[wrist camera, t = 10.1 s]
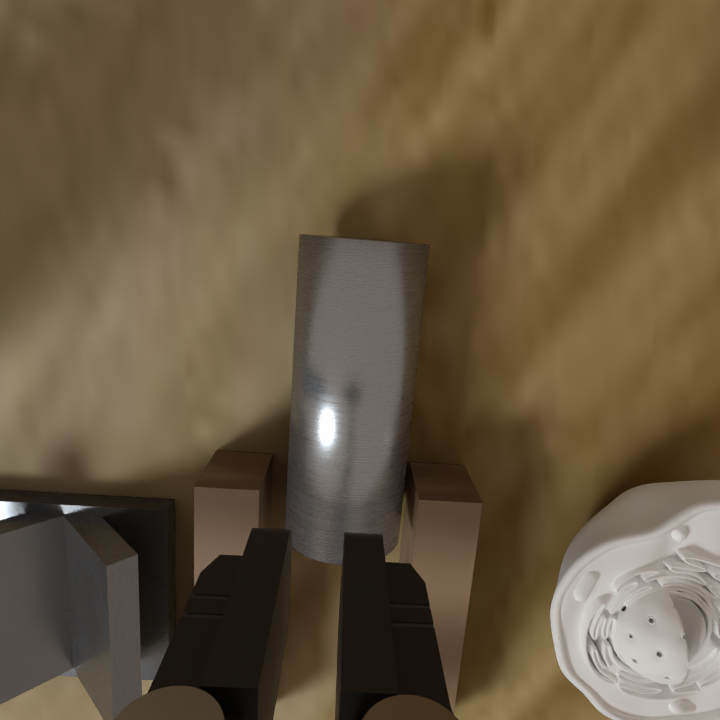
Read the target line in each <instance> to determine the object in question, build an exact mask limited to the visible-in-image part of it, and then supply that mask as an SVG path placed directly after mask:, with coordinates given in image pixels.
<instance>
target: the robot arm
mask: <svg viewBox="0 0 720 720" xmlns="http://www.w3.org/2000/svg"><path fill="white" fill-rule="evenodd" d="M291 547H292V531H291V530H288V529H267V528H252V529H251V532H250V535H249V538H248V541H247V544H246V547H245V550H244V553H243V556H241V555H219V556H218V557H217V558H216V559H215V560H213V561H212V562H211V563H210V564H209V565H208V566H207V567H206V568H205V569H203V570H202V571H201V572H200V575H199V577H198V579H197V581H196V584H195V586H194V588H193V591H192V593H191V598H189V600H188V602H187V604H186V607H185V609H184V611H183V616H182V617H181V618H180V620H179V623H178V625H177V627H176V630H175V632H174V634H173V636H172V639H171V641H170V643H169V646H168V648H167V650H166V652H165V655H164V657H163V659H162V662H161V664H160V666H159V668H158V671H157V673H156V675H155V678H154V680H153V682H152V685H151V687H150V689H149V691H148V693H147V694H145V695H143V696H141V697H139V698H137V699H136V700H134V701H133V702H131V703H130V704H129V705H128V706H126V707H125V708H124V709H123V710H122V711H121V712H120V713H119V714H118V715H117V716H116V717H115V719H114V720H273V716H274V710H275V704H276V698H277V691H278V685H279V679H280V673H281V666H282V660H283V654H284V648H285V641H286V635H287V626H288V616H289V601H290V574H291ZM433 624H434V623H433V618H432V613H431V609H430V603H429V598H428V593H427V589H426V584H425V581H424V580H423V579H422V578H421V576H420V575H419V574H418V573H417V571H416V570H415V569H414V568H413V566H412V565H411V564H410V563H391V562H385V552H384V542H383V535H382V534H371V533H350V532H344V542H343V558H342V574H341V590H340V606H339V625H338V650H337V679H336V709H335V720H458V719H457V718H456V717H455V716H454V714H453V712H452V708H451V705H450V701H449V696H448V691H447V686H446V681H445V676H444V672H443V667H442V662H441V657H440V652H439V647H438V642H437V637H436V633H435V628H434V626H433Z"/></svg>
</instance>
